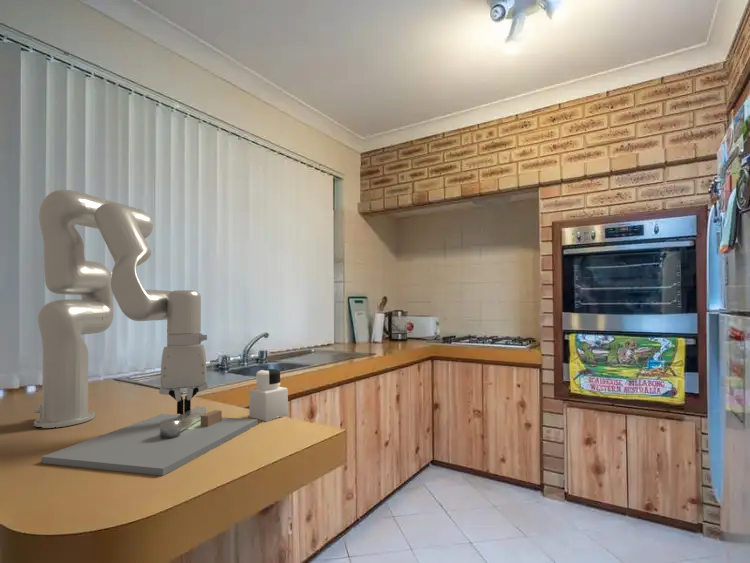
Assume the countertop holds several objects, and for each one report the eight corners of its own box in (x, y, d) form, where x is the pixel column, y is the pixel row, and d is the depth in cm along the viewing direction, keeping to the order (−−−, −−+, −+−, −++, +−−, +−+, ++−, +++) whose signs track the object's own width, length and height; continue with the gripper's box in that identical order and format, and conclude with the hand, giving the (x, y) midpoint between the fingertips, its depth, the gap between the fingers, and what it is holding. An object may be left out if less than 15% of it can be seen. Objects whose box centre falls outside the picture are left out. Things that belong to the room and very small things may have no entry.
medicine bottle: (271, 411, 111) (271, 366, 112) (288, 415, 107) (287, 369, 107) (248, 417, 106) (248, 370, 106) (265, 422, 101) (265, 373, 102)
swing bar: (174, 437, 86) (174, 423, 86) (155, 438, 86) (155, 423, 86) (209, 416, 102) (209, 404, 102) (193, 416, 102) (193, 404, 102)
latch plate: (41, 463, 78) (41, 443, 78) (162, 418, 107) (162, 404, 107) (163, 475, 70) (163, 454, 70) (257, 424, 99) (257, 409, 99)
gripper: (215, 337, 107) (215, 408, 106) (150, 341, 101) (149, 416, 100) (217, 340, 100) (217, 416, 99) (148, 343, 94) (147, 424, 93)
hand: (183, 416), depth 100 cm, fingers closed
